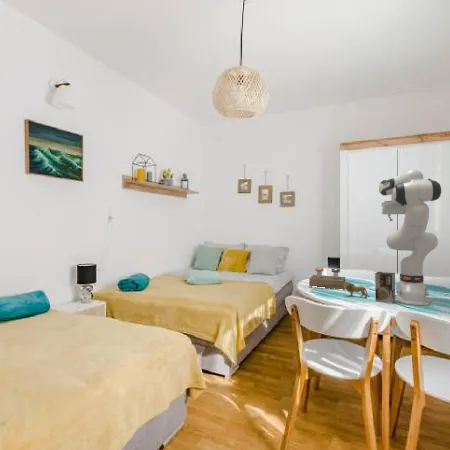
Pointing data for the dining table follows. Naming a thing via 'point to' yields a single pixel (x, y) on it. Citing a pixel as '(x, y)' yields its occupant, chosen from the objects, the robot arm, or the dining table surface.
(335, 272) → the plunger grey
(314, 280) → the press block
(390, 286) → the coffee box
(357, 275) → the dining table surface
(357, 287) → the lion figurine
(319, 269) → the plunger terracotta
